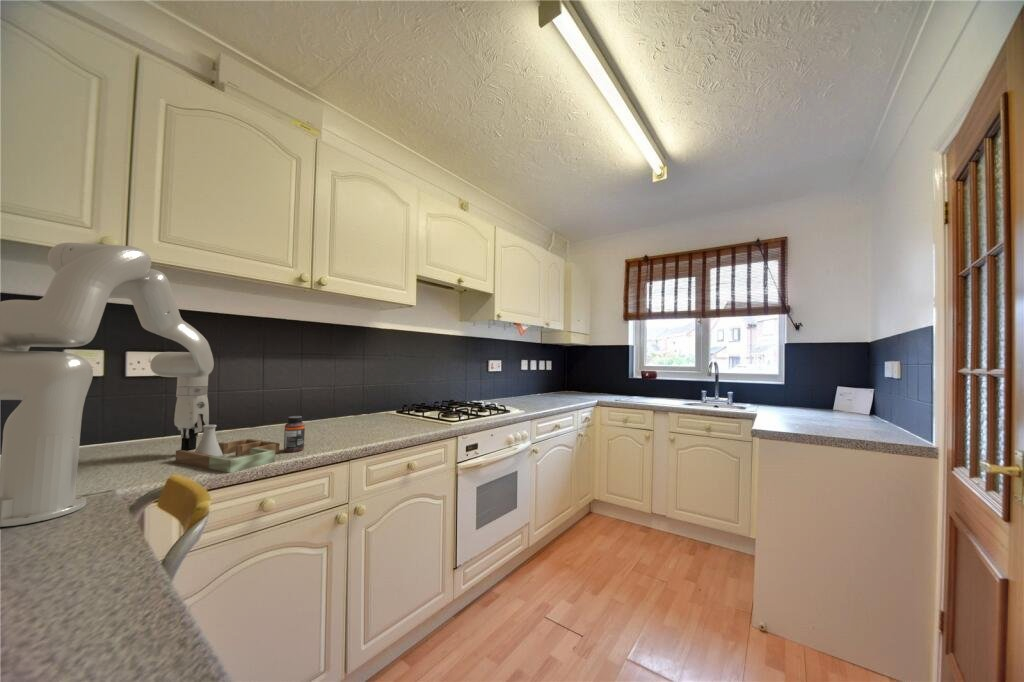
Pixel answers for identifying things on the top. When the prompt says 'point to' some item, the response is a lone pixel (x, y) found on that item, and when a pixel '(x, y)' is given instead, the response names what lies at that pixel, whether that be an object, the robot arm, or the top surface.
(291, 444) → the supplement bottle
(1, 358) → the robot arm
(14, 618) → the top surface
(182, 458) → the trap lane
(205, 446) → the flask
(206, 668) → the top surface
